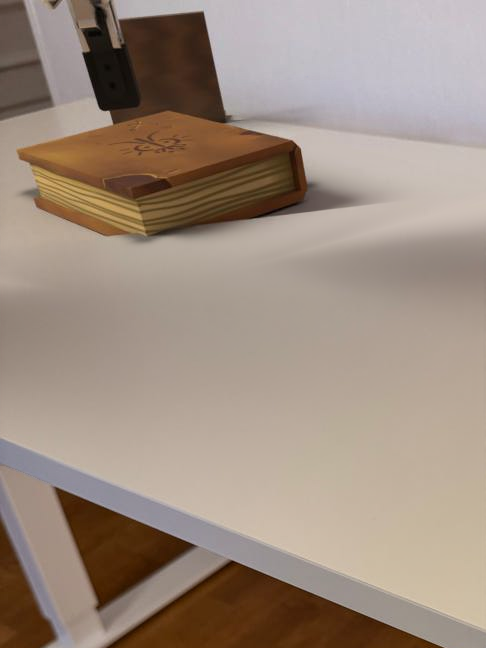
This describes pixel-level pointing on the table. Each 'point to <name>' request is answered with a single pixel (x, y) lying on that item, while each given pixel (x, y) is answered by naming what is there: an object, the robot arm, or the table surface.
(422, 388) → the table surface
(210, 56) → the bookend
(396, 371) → the table surface
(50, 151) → the diary
